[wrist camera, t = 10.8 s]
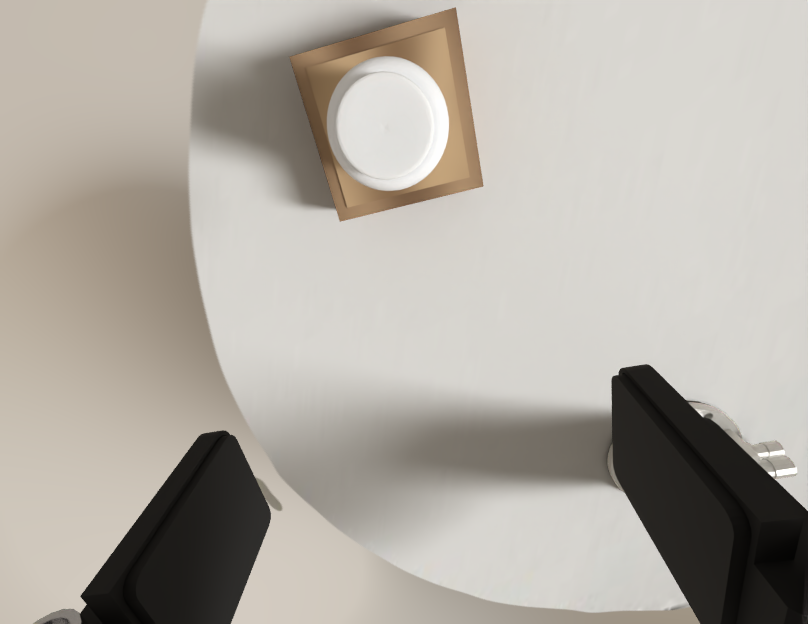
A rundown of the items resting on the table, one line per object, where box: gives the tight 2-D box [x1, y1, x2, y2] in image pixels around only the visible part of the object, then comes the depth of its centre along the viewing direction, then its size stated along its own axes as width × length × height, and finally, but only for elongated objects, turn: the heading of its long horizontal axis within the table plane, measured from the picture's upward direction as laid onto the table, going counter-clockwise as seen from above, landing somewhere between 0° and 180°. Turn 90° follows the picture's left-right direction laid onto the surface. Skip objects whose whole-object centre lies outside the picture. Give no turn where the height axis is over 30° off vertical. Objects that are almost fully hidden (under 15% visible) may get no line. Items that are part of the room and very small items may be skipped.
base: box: [290, 8, 483, 221], centre depth 27 cm, size 10×10×4 cm
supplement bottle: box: [327, 56, 449, 191], centre depth 20 cm, size 6×6×10 cm
